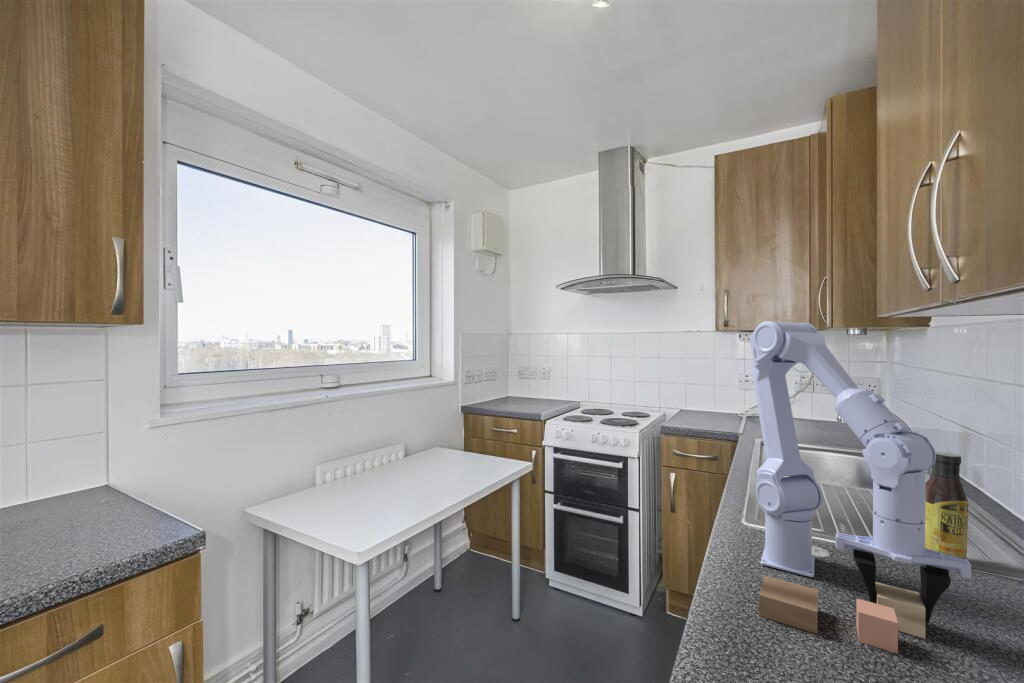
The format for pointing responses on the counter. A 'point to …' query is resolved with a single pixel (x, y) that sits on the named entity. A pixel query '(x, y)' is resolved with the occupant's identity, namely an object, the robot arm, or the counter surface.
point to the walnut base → (789, 603)
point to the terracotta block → (877, 625)
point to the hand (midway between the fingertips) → (897, 611)
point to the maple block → (903, 608)
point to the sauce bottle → (946, 508)
